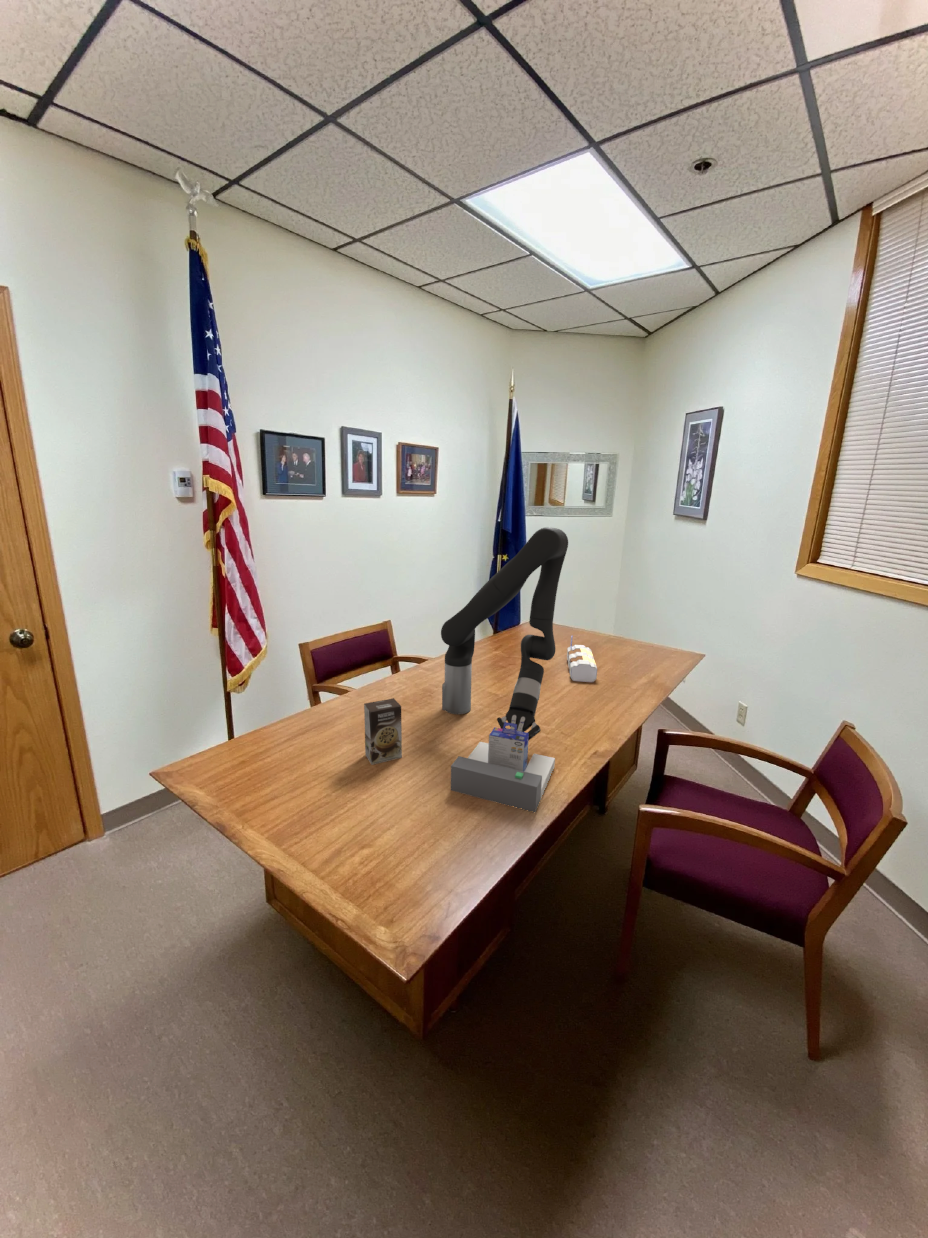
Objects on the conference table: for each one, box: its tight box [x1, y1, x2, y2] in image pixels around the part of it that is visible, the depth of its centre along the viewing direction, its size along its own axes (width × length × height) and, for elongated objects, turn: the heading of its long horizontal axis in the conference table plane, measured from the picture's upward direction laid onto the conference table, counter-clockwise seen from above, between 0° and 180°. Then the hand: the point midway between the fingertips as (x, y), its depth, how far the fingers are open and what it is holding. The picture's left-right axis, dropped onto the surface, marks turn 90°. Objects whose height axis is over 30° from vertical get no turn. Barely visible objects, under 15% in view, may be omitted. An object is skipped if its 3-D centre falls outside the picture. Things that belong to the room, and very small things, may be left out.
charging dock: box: [450, 741, 556, 813], centre depth 127 cm, size 22×21×8 cm
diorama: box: [566, 635, 598, 683], centre depth 204 cm, size 25×10×13 cm, turn 172°
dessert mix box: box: [363, 697, 403, 766], centre depth 135 cm, size 9×6×16 cm
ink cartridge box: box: [488, 721, 529, 771], centre depth 128 cm, size 10×6×14 cm, turn 71°
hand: (511, 754), depth 132 cm, fingers closed
